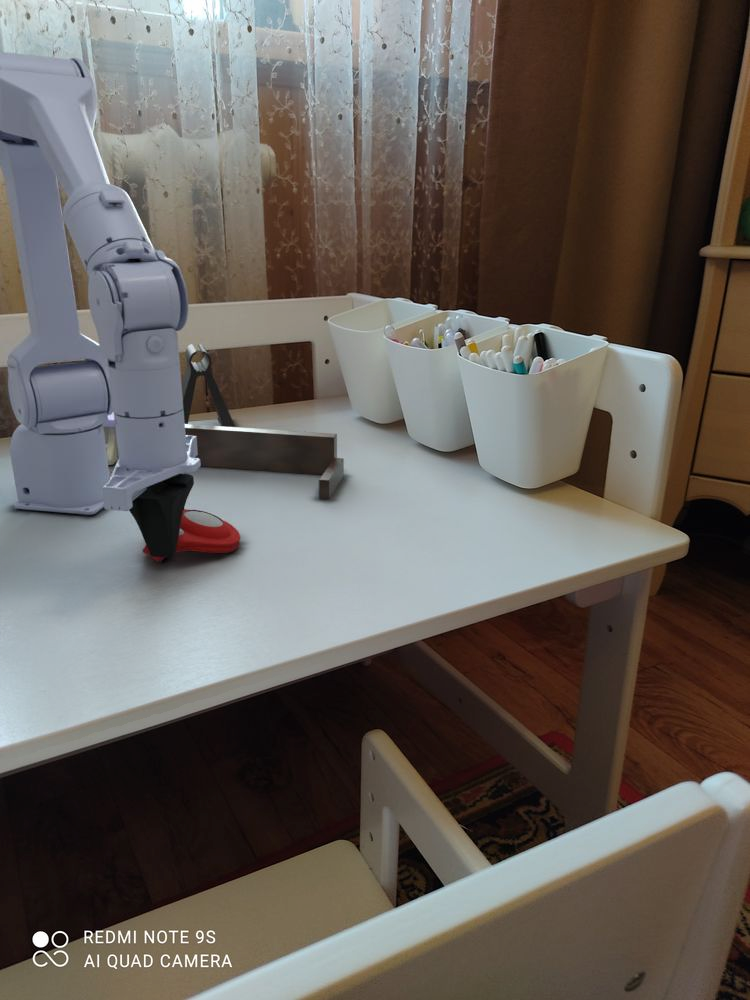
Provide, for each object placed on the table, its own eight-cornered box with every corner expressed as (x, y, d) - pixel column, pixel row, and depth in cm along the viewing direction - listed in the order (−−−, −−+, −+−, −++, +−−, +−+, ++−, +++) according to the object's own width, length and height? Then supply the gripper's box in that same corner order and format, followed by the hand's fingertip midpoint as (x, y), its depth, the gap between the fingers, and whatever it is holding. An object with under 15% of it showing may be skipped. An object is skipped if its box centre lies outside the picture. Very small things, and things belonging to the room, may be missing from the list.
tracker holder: (262, 528, 78) (198, 542, 69) (249, 567, 79) (185, 585, 70) (173, 480, 82) (102, 488, 73) (162, 518, 83) (92, 529, 75)
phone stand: (230, 420, 118) (226, 342, 114) (236, 431, 113) (231, 349, 108) (170, 425, 116) (163, 344, 111) (173, 436, 110) (166, 352, 106)
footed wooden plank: (138, 485, 92) (133, 445, 90) (171, 459, 101) (168, 422, 99) (329, 499, 88) (328, 458, 87) (346, 472, 97) (346, 434, 95)
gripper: (156, 437, 58) (171, 596, 63) (224, 392, 71) (232, 526, 76) (69, 431, 59) (91, 588, 64) (152, 388, 72) (165, 521, 77)
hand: (163, 554), depth 70 cm, fingers closed
